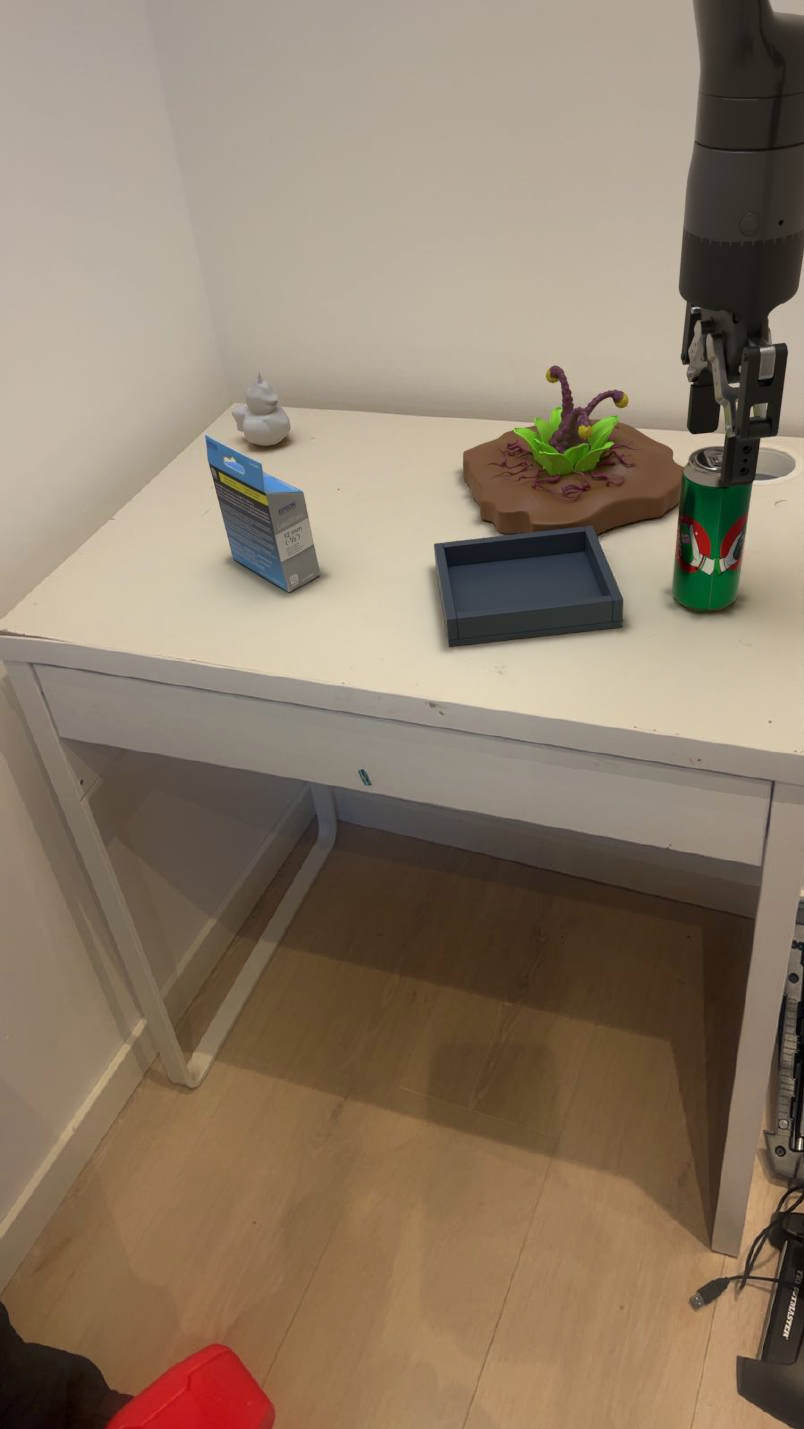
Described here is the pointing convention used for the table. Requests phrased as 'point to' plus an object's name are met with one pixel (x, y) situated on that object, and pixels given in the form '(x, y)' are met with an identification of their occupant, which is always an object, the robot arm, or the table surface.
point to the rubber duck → (262, 415)
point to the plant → (572, 471)
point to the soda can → (709, 534)
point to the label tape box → (263, 518)
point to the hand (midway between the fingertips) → (718, 456)
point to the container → (526, 586)
